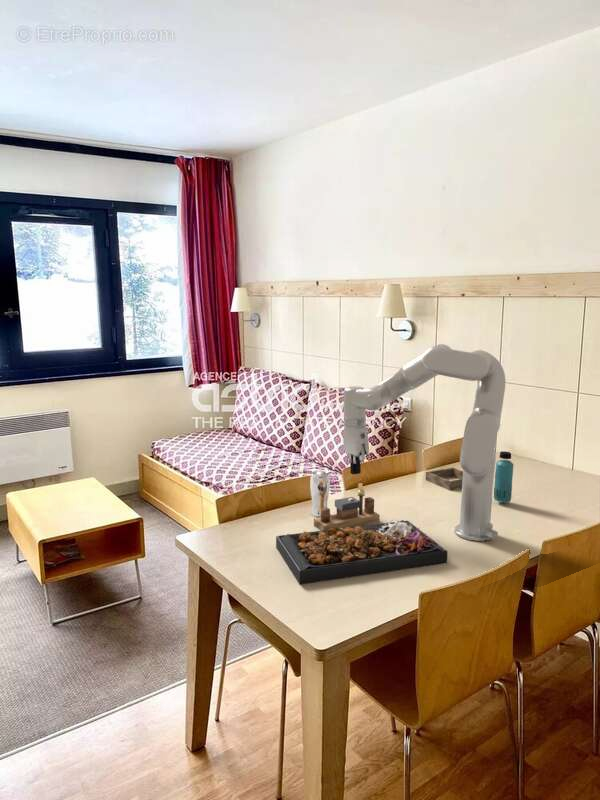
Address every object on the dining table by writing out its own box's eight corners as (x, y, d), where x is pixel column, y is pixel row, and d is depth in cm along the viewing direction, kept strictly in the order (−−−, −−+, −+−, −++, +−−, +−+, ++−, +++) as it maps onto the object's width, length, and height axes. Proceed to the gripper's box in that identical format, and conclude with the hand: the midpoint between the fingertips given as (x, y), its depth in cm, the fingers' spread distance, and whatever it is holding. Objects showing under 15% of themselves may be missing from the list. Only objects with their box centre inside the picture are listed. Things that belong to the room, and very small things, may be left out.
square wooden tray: (477, 485, 241) (478, 476, 240) (449, 490, 234) (450, 481, 233) (452, 475, 254) (453, 467, 253) (425, 479, 247) (425, 471, 247)
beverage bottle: (508, 500, 222) (512, 450, 219) (513, 506, 216) (517, 454, 212) (491, 500, 223) (494, 449, 220) (495, 506, 216) (498, 454, 213)
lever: (357, 496, 199) (357, 492, 198) (356, 487, 208) (356, 483, 208) (364, 496, 199) (364, 492, 198) (363, 487, 208) (363, 483, 208)
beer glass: (327, 518, 204) (328, 477, 201) (308, 516, 205) (308, 475, 202) (330, 511, 210) (331, 471, 208) (311, 509, 212) (312, 470, 209)
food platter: (407, 533, 193) (408, 503, 191) (446, 565, 170) (448, 531, 168) (276, 549, 180) (276, 517, 178) (299, 586, 157) (299, 550, 155)
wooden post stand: (379, 521, 201) (380, 496, 199) (323, 532, 191) (324, 506, 189) (368, 514, 207) (368, 490, 205) (313, 525, 197) (314, 500, 196)
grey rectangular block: (359, 507, 197) (360, 500, 197) (342, 510, 194) (342, 503, 194) (352, 502, 202) (352, 495, 201) (334, 506, 199) (334, 498, 198)
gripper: (376, 424, 197) (376, 477, 200) (352, 417, 210) (353, 467, 213) (357, 427, 194) (358, 480, 197) (334, 420, 207) (335, 470, 210)
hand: (355, 473), depth 205 cm, fingers closed
